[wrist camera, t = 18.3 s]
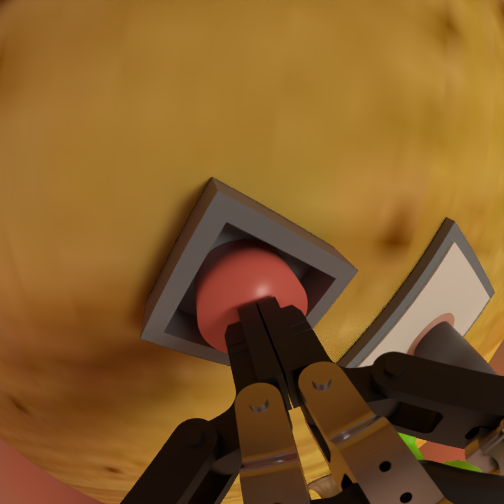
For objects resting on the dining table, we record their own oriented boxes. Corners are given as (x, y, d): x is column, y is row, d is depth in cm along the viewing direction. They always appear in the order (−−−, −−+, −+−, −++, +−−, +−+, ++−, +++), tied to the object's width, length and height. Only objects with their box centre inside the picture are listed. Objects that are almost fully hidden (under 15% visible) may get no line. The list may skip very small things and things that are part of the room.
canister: (406, 356, 19) (475, 451, 9) (440, 315, 18) (522, 405, 8) (424, 362, 21) (484, 442, 11) (454, 327, 20) (522, 402, 10)
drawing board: (312, 388, 19) (317, 398, 18) (446, 217, 15) (457, 223, 14) (402, 395, 26) (407, 401, 25) (490, 288, 21) (496, 293, 20)
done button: (178, 302, 12) (179, 339, 10) (224, 222, 11) (234, 248, 9) (256, 329, 14) (268, 364, 12) (305, 263, 13) (328, 292, 11)
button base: (145, 304, 13) (140, 338, 11) (211, 176, 11) (217, 190, 9) (260, 343, 16) (271, 375, 13) (333, 246, 14) (358, 270, 12)
